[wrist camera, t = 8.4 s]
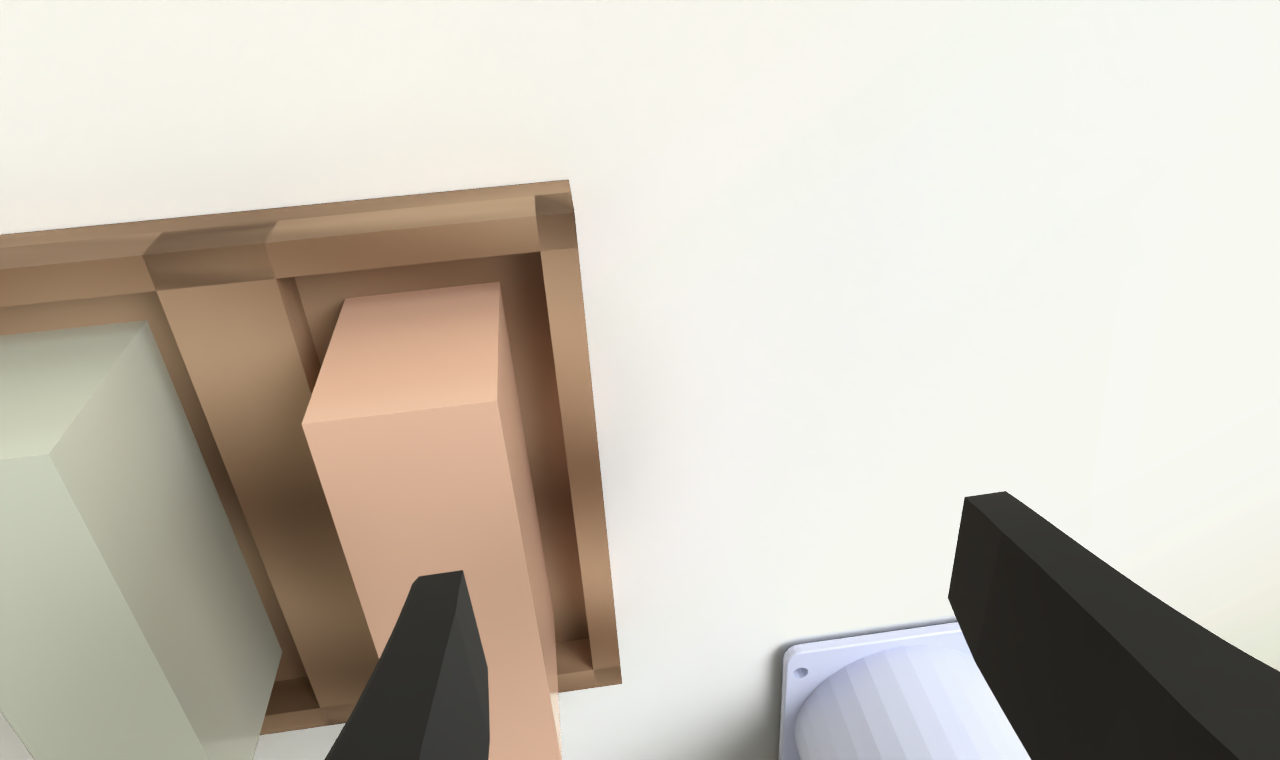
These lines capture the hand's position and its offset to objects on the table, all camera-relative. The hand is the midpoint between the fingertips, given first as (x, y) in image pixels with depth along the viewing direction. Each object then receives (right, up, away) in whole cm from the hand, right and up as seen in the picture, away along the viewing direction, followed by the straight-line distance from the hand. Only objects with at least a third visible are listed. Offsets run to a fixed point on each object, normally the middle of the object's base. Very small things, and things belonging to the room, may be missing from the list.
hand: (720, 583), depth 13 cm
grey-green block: (-14, -1, +10) cm, 17 cm away
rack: (-10, 0, +11) cm, 15 cm away
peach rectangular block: (-6, 0, +10) cm, 12 cm away
